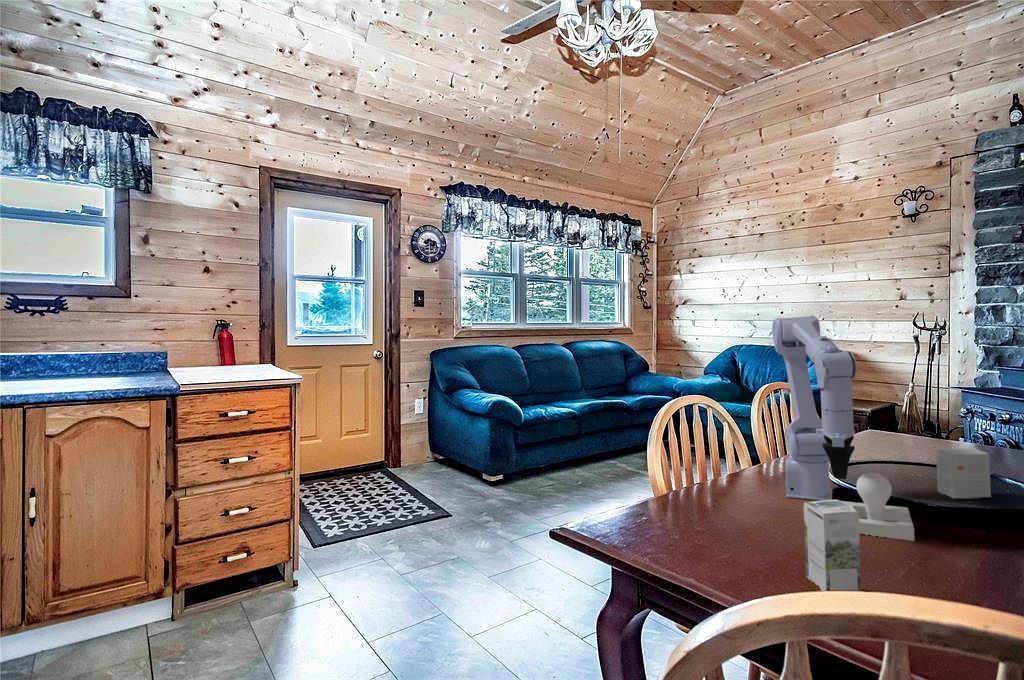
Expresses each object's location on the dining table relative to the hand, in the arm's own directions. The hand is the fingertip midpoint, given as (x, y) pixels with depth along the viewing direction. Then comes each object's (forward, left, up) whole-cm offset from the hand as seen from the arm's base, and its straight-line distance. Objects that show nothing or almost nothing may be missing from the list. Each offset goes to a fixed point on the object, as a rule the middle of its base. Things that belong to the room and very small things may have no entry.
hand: (839, 473), depth 116 cm
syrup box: (-1, -33, -11) cm, 35 cm away
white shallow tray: (+6, 0, -10) cm, 12 cm away
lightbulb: (+6, 0, -11) cm, 12 cm away
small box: (+24, +26, -11) cm, 37 cm away
